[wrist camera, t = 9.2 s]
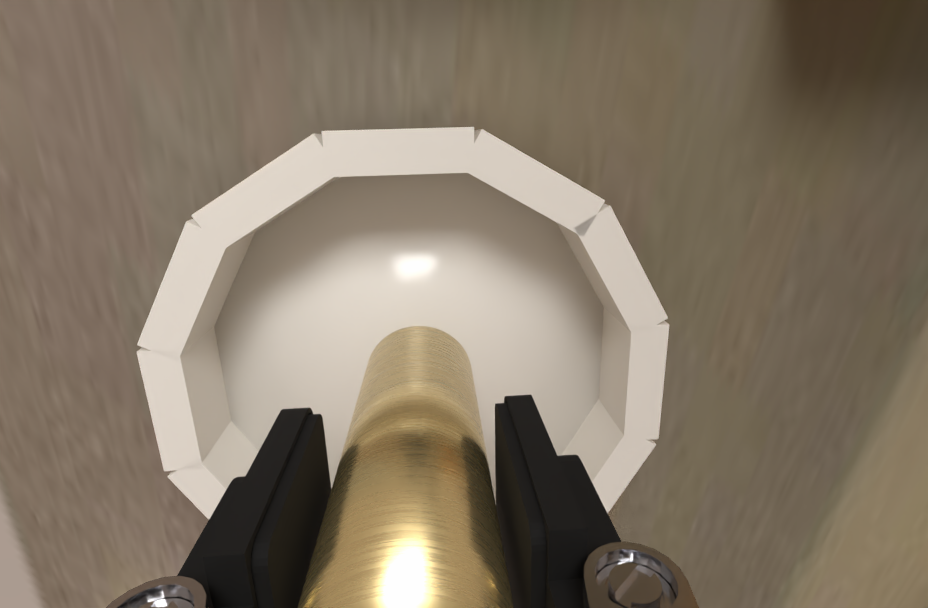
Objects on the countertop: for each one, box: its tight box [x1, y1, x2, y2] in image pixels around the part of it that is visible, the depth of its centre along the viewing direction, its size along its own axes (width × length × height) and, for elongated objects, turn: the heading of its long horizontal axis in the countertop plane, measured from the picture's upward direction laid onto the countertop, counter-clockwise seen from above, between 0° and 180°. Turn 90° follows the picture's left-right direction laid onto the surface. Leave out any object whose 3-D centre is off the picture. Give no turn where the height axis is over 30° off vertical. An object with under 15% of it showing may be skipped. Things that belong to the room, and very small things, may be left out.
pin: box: [298, 326, 514, 608], centre depth 11 cm, size 3×3×9 cm
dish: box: [137, 127, 669, 519], centre depth 15 cm, size 13×13×3 cm
